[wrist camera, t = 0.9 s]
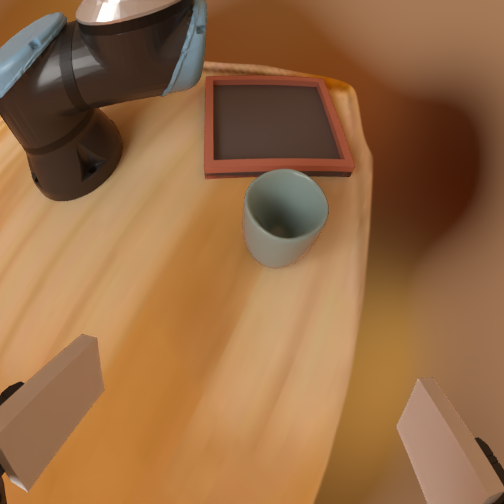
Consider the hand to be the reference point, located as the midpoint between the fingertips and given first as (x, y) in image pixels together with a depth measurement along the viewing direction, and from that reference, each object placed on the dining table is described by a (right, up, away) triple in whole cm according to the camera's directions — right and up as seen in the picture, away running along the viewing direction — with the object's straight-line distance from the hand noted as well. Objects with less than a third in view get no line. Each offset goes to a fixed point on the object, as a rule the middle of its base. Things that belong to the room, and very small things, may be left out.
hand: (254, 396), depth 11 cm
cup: (+3, +6, +26) cm, 27 cm away
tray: (+3, +25, +34) cm, 42 cm away
